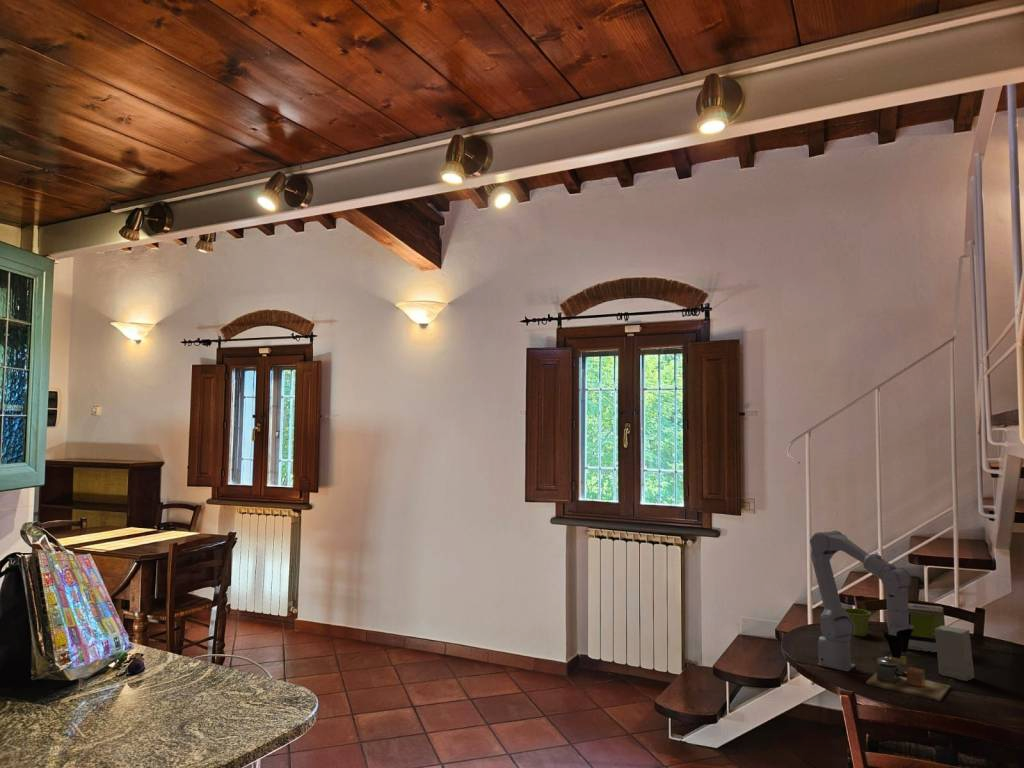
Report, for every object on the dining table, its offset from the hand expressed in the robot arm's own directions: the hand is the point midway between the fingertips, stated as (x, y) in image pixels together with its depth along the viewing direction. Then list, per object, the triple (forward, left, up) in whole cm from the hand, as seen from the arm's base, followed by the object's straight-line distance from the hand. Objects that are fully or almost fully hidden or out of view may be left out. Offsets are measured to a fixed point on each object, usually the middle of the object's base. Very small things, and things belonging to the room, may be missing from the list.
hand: (899, 654), depth 202 cm
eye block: (-4, +3, -10) cm, 11 cm away
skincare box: (+10, +23, -10) cm, 27 cm away
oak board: (+1, +3, -10) cm, 10 cm away
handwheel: (-3, +3, -4) cm, 6 cm away
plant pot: (-27, +51, -10) cm, 59 cm away
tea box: (-5, +49, -10) cm, 51 cm away
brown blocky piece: (-1, +3, -9) cm, 9 cm away
